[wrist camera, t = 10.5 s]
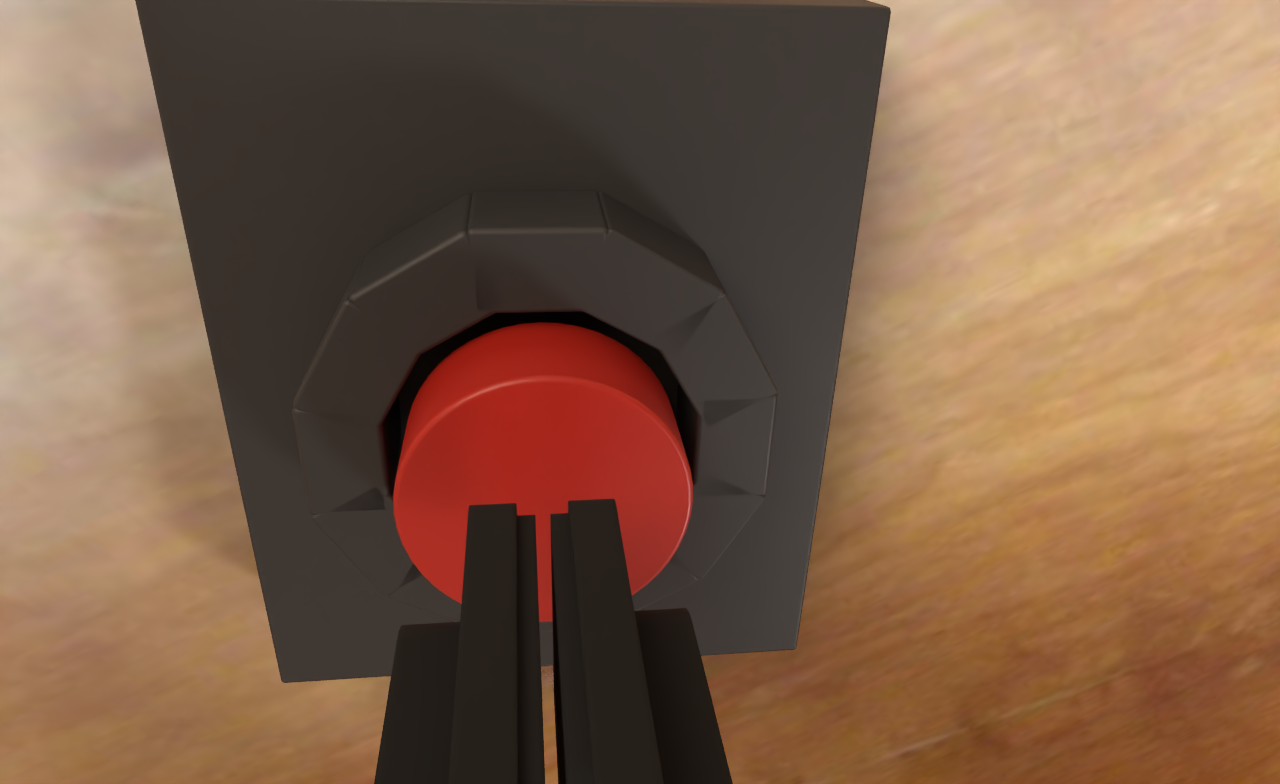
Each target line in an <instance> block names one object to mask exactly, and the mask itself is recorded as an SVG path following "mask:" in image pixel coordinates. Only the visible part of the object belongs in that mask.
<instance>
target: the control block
mask: <svg viewBox="0 0 1280 784" xmlns="http://www.w3.org/2000/svg"><path fill="white" fill-rule="evenodd" d="M135 1H136V6H137V10H138V15H139V20H140V24H141V29H142V34H143V38H144V43H145V48H146V52H147V57H148V62H149V66H150V71H151V76H152V80H153V85H154V89H155V94H156V99H157V103H158V108H159V113H160V117H161V122H162V127H163V131H164V136H165V141H166V145H167V150H168V155H169V159H170V164H171V169H172V173H173V178H174V183H175V187H176V192H177V197H178V201H179V206H180V211H181V215H182V220H183V225H184V229H185V234H186V239H187V243H188V248H189V252H190V257H191V262H192V266H193V271H194V276H195V280H196V285H197V290H198V294H199V299H200V304H201V308H202V313H203V318H204V322H205V327H206V332H207V336H208V341H209V346H210V350H211V355H212V360H213V364H214V369H215V374H216V378H217V383H218V388H219V392H220V397H221V401H222V406H223V411H224V415H225V420H226V425H227V429H228V434H229V439H230V443H231V448H232V453H233V457H234V462H235V467H236V471H237V476H238V481H239V485H240V490H241V495H242V499H243V504H244V509H245V513H246V518H247V523H248V527H249V532H250V537H251V541H252V546H253V550H254V555H255V560H256V564H257V569H258V574H259V578H260V583H261V588H262V592H263V597H264V602H265V606H266V611H267V616H268V620H269V625H270V630H271V634H272V639H273V644H274V648H275V653H276V658H277V662H278V667H279V672H280V676H281V680H282V682H284V683H290V682H305V681H321V680H336V679H351V678H367V677H382V676H391V674H392V668H393V662H394V655H395V649H396V642H397V637H398V633H399V629H400V627H401V625H413V624H430V623H446V622H460V617H461V604H460V603H458V602H457V601H455V600H453V599H451V598H450V597H448V596H447V595H445V594H444V593H443V592H441V591H440V590H439V589H437V588H436V587H435V586H433V585H432V584H431V583H430V582H429V581H428V580H427V579H426V578H425V577H424V576H423V575H422V574H421V572H420V571H419V570H418V569H417V567H416V566H415V565H414V563H413V562H412V561H411V559H410V557H409V555H408V554H407V552H406V550H405V548H404V546H403V545H402V542H401V539H400V537H399V534H398V531H397V528H396V523H395V518H394V509H393V494H394V486H395V479H396V474H397V469H398V464H399V460H400V455H401V450H402V445H403V440H404V435H405V431H406V426H407V421H408V417H409V414H410V410H411V407H412V404H413V401H414V399H415V397H416V395H417V393H418V391H419V389H420V387H421V386H422V384H423V383H424V381H425V380H426V378H427V377H428V375H429V374H430V373H431V372H432V371H433V370H434V369H435V368H436V366H437V365H438V364H439V363H440V362H441V361H442V360H444V359H445V358H446V357H447V356H448V355H449V354H451V353H452V352H453V351H454V350H456V349H458V348H459V347H461V346H462V345H464V344H465V343H467V342H468V341H471V340H473V339H475V338H477V337H479V336H481V335H483V334H485V333H488V332H491V331H494V330H497V329H500V328H503V327H508V326H513V325H518V324H524V323H537V322H547V323H562V324H569V325H575V326H579V327H583V328H586V329H590V330H593V331H596V332H599V333H601V334H603V335H605V336H608V337H610V338H612V339H614V340H616V341H617V342H619V343H621V344H622V345H624V346H626V347H627V348H629V349H630V350H631V351H632V352H634V353H635V354H636V355H637V356H639V357H640V358H641V359H642V360H643V361H644V362H645V363H646V364H647V365H648V366H649V367H650V368H651V369H652V371H653V372H654V374H655V375H656V376H657V378H658V379H659V381H660V382H661V384H662V386H663V388H664V390H665V392H666V394H667V395H668V398H669V401H670V404H671V407H672V410H673V413H674V416H675V420H676V423H677V426H678V430H679V433H680V436H681V439H682V443H683V446H684V449H685V453H686V456H687V459H688V462H689V466H690V469H691V475H692V481H693V505H692V512H691V517H690V520H689V524H688V527H687V530H686V533H685V535H684V537H683V539H682V541H681V543H680V546H679V548H678V549H677V551H676V552H675V554H674V555H673V557H672V558H671V560H670V561H669V563H668V564H667V565H666V566H665V567H664V568H663V570H662V571H661V572H660V573H659V574H658V575H657V576H656V577H655V578H654V579H653V580H652V581H651V582H649V583H648V584H647V585H646V586H645V587H643V588H642V589H641V590H639V591H638V592H636V593H635V594H634V595H632V600H633V606H634V611H643V610H659V609H675V608H687V610H688V611H689V613H690V616H691V619H692V623H693V627H694V631H695V635H696V639H697V643H698V647H699V651H700V655H701V656H702V655H718V654H733V653H748V652H764V651H779V650H794V649H796V646H797V639H798V632H799V626H800V619H801V612H802V605H803V599H804V592H805V585H806V579H807V572H808V565H809V558H810V552H811V545H812V538H813V531H814V525H815V518H816V511H817V505H818V498H819V491H820V484H821V478H822V471H823V464H824V457H825V451H826V444H827V437H828V431H829V424H830V417H831V410H832V404H833V397H834V390H835V383H836V377H837V370H838V363H839V357H840V350H841V343H842V336H843V330H844V323H845V316H846V310H847V303H848V296H849V289H850V283H851V276H852V269H853V262H854V256H855V249H856V242H857V236H858V229H859V222H860V215H861V209H862V202H863V195H864V188H865V182H866V175H867V168H868V162H869V155H870V148H871V141H872V135H873V128H874V121H875V114H876V108H877V101H878V94H879V88H880V81H881V74H882V67H883V61H884V54H885V47H886V41H887V34H888V27H889V20H890V14H891V11H890V8H889V7H887V6H884V5H880V4H877V3H874V2H870V1H867V0H135ZM539 629H540V657H541V666H550V665H553V622H539Z"/></svg>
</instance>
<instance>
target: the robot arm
mask: <svg viewBox="0 0 1280 784" xmlns="http://www.w3.org/2000/svg"><path fill="white" fill-rule="evenodd" d="M550 526H551V574H552V622H553V670H554V705H555V726H556V745H557V765H558V784H732V780H731V776H730V772H729V768H728V764H727V760H726V756H725V752H724V747H723V743H722V739H721V735H720V731H719V727H718V723H717V719H716V715H715V711H714V707H713V703H712V699H711V695H710V691H709V687H708V683H707V679H706V675H705V671H704V667H703V663H702V659H701V655H700V651H699V647H698V643H697V639H696V635H695V631H694V627H693V623H692V619H691V616H690V613H689V611H688V610H687V608H675V609H659V610H643V611H634V606H633V600H632V594H631V588H630V583H629V577H628V571H627V565H626V559H625V553H624V547H623V541H622V536H621V530H620V524H619V518H618V512H617V506H616V502H615V499H614V498H613V499H592V500H570V501H568V513H559V514H550ZM374 784H545V768H544V740H543V712H542V685H541V657H540V629H539V602H538V574H537V546H536V519H535V515H517V504H516V503H505V504H483V505H469V510H468V522H467V535H466V549H465V563H464V576H463V590H462V603H461V617H460V622H446V623H430V624H413V625H401V627H400V629H399V633H398V637H397V642H396V649H395V655H394V662H393V668H392V674H391V681H390V687H389V693H388V700H387V706H386V712H385V719H384V725H383V731H382V738H381V744H380V751H379V757H378V763H377V770H376V776H375V782H374Z"/></svg>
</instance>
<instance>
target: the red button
mask: <svg viewBox="0 0 1280 784" xmlns="http://www.w3.org/2000/svg"><path fill="white" fill-rule="evenodd" d="M613 498H614V499H615V502H616V506H617V512H618V518H619V524H620V530H621V536H622V541H623V547H624V553H625V559H626V565H627V571H628V577H629V583H630V588H631V594H632V595H634V594H635V593H636V592H638V591H639V590H641V589H642V588H643V587H645V586H646V585H647V584H648V583H649V582H651V581H652V580H653V579H654V578H655V577H656V576H657V575H658V574H659V573H660V572H661V571H662V570H663V568H664V567H665V566H666V565H667V564H668V563H669V561H670V560H671V558H672V557H673V555H674V554H675V552H676V551H677V549H678V548H679V546H680V543H681V541H682V539H683V537H684V535H685V533H686V530H687V527H688V524H689V520H690V517H691V512H692V505H693V481H692V475H691V469H690V466H689V462H688V459H687V456H686V453H685V449H684V446H683V443H682V439H681V436H680V433H679V430H678V426H677V423H676V420H675V416H674V413H673V410H672V407H671V404H670V401H669V398H668V395H667V394H666V392H665V390H664V388H663V386H662V384H661V382H660V381H659V379H658V378H657V376H656V375H655V374H654V372H653V371H652V369H651V368H650V367H649V366H648V365H647V364H646V363H645V362H644V361H643V360H642V359H641V358H640V357H639V356H637V355H636V354H635V353H634V352H632V351H631V350H630V349H629V348H627V347H626V346H624V345H622V344H621V343H619V342H617V341H616V340H614V339H612V338H610V337H608V336H605V335H603V334H601V333H599V332H596V331H593V330H590V329H586V328H583V327H579V326H575V325H569V324H562V323H547V322H537V323H524V324H518V325H513V326H508V327H503V328H500V329H497V330H494V331H491V332H488V333H485V334H483V335H481V336H479V337H477V338H475V339H473V340H471V341H468V342H467V343H465V344H464V345H462V346H461V347H459V348H458V349H456V350H454V351H453V352H452V353H451V354H449V355H448V356H447V357H446V358H445V359H444V360H442V361H441V362H440V363H439V364H438V365H437V366H436V368H435V369H434V370H433V371H432V372H431V373H430V374H429V375H428V377H427V378H426V380H425V381H424V383H423V384H422V386H421V387H420V389H419V391H418V393H417V395H416V397H415V399H414V401H413V404H412V407H411V410H410V414H409V417H408V421H407V426H406V431H405V435H404V440H403V445H402V450H401V455H400V460H399V464H398V469H397V474H396V479H395V486H394V494H393V509H394V518H395V523H396V528H397V531H398V534H399V537H400V539H401V542H402V545H403V546H404V548H405V550H406V552H407V554H408V555H409V557H410V559H411V561H412V562H413V563H414V565H415V566H416V567H417V569H418V570H419V571H420V572H421V574H422V575H423V576H424V577H425V578H426V579H427V580H428V581H429V582H430V583H431V584H432V585H433V586H435V587H436V588H437V589H439V590H440V591H441V592H443V593H444V594H445V595H447V596H448V597H450V598H451V599H453V600H455V601H457V602H458V603H460V604H461V603H462V590H463V576H464V563H465V549H466V535H467V522H468V510H469V505H483V504H505V503H516V504H517V515H535V519H536V546H537V574H538V602H539V622H552V574H551V526H550V514H559V513H568V501H570V500H592V499H613Z"/></svg>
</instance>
